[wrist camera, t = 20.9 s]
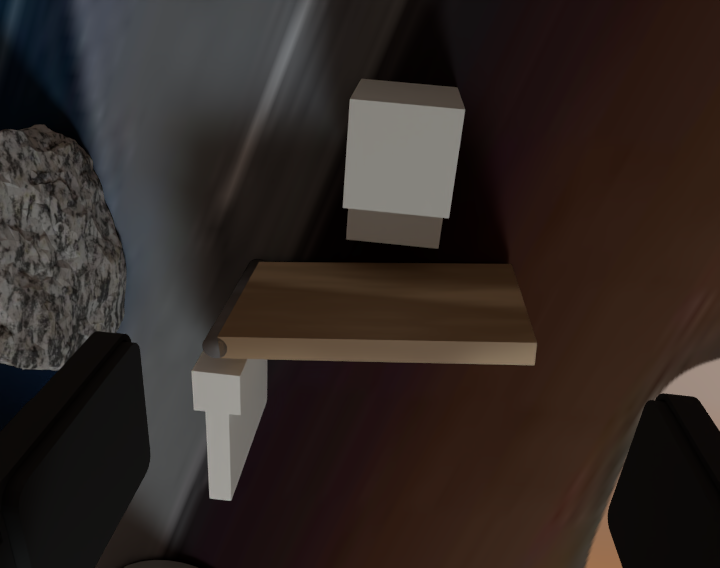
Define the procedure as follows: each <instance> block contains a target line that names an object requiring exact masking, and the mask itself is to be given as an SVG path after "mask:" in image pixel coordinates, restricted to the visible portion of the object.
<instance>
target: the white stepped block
mask: <svg viewBox="0 0 720 568" xmlns="http://www.w3.org/2000/svg"><path fill="white" fill-rule="evenodd" d="M464 114H465V108H464V105H463V102H462V99H461V96H460V94H459V91H458V88H457V87H448V86H437V85H426V84H415V83H404V82H393V81H382V80H371V79H361V80H360V82H359V83H358V85H357V87H356V89H355V91H354V92H353V94H352V96H351V98H350V105H349V120H348V135H347V150H346V165H345V180H344V196H343V208H348V219H347V233H346V239H348V240H358V241H367V242H377V243H387V244H397V245H406V246H416V247H426V248H436V249H438V248H439V241H440V234H441V227H442V220H443V218H449V215H450V208H451V202H452V195H453V188H454V181H455V175H456V168H457V161H458V155H459V148H460V141H461V134H462V128H463V121H464Z"/></svg>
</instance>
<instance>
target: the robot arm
mask: <svg viewBox="0 0 720 568" xmlns="http://www.w3.org/2000/svg"><path fill="white" fill-rule="evenodd" d="M149 462H150V445H149V435H148V425H147V415H146V406H145V396H144V386H143V376H142V366H141V356H140V349H139V346H138V344H137V343H131V339H130V337H129V336H128V335H127V334H120V333H111V332H102V331H96V332H94V333H93V334H91V336H90V337H89V338H88V339H87V340H86V341H85V342H84V343H83V344H82V345H81V346H80V348H79V349H78V350H77V351H76V352H75V353H74V354H73V355H72V356H71V357H70V359H69V360H68V361H67V362H66V363H65V364H64V365H63V366H62V367H61V368H60V370H59V371H58V372H57V373H56V374H55V375H54V376H53V377H52V378H51V379H50V380H49V382H48V383H47V384H46V385H45V386H44V387H43V388H42V389H41V390H40V391H39V393H38V394H37V395H36V396H35V397H34V398H32V399H31V400H30V401H29V402H28V403H26V405H25V406H24V407H23V408H22V409H21V410H20V411H19V412H18V413H17V414H16V415H15V417H14V418H13V419H12V420H11V421H10V422H9V423H8V424H7V425H6V426H5V427H4V429H3V430H2V431H1V432H0V568H94V567H95V566H96V564H97V562H98V560H99V558H100V557H101V555H102V553H103V551H104V549H105V547H106V546H107V544H108V542H109V540H110V538H111V536H112V535H113V533H114V531H115V529H116V527H117V525H118V524H119V522H120V520H121V518H122V516H123V515H124V513H125V511H126V509H127V507H128V505H129V504H130V502H131V500H132V498H133V496H134V494H135V493H136V491H137V489H138V487H139V485H140V483H141V482H142V480H143V478H144V476H145V474H146V472H147V470H148V467H149ZM608 525H609V529H610V532H611V535H612V538H613V541H614V544H615V547H616V550H617V553H618V555H619V558H620V561H621V563H622V567H623V568H720V431H719V430H718V428H717V427H716V425H715V424H714V422H713V421H712V419H711V418H710V416H709V415H708V413H707V412H706V410H705V409H704V407H703V406H702V404H701V403H700V401H699V400H698V399H697V398H695V397H690V396H682V395H673V394H664V393H663V394H659V396H658V397H657V398H656V400H655V401H654V400H650V401H648V402H647V403H646V405H645V407H644V409H643V412H642V415H641V418H640V421H639V424H638V426H637V429H636V432H635V435H634V438H633V441H632V443H631V446H630V449H629V452H628V455H627V458H626V460H625V463H624V466H623V469H622V472H621V475H620V477H619V480H618V483H617V486H616V489H615V492H614V495H613V497H612V500H611V503H610V506H609V510H608ZM123 568H198V567H196V566H192V565H189V564H185V563H182V562H175V561H169V560H149V561H141V562H137V563H134V564H130V565H127V566H125V567H123Z"/></svg>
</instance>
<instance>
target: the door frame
mask: <svg viewBox="0 0 720 568" xmlns="http://www.w3.org/2000/svg"><path fill="white" fill-rule="evenodd" d="M192 386H193V403H194V410H198V411H206V432H207V453H208V474H209V496H210V498H211V499H219V500H228V501H231V500H232V497H233V494H234V491H235V489H236V486H237V483H238V480H239V477H240V475H241V472H242V469H243V466H244V463H245V461H246V458H247V455H248V452H249V449H250V447H251V444H252V441H253V438H254V435H255V433H256V430H257V427H258V424H259V421H260V419H261V416H262V413H263V410H264V407H265V404H266V402H267V359H230V358H212V357H210V356H208V355H207V354H206V353H205V352H204V350H203V352H202V354H201V355H200V357H199V359H198V361H197V362H196V364H195V366H194V368H193V369H192Z"/></svg>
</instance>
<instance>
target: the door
mask: <svg viewBox="0 0 720 568" xmlns="http://www.w3.org/2000/svg"><path fill="white" fill-rule="evenodd" d="M202 346H203V350H204V352H205V353H206V354H207V355H208V356H210V357H212V358H230V359H276V360H322V361H367V362H413V363H458V364H504V365H535V356H536V347H537V341H536V338H535V335H534V332H533V329H532V326H531V323H530V320H529V317H528V314H527V311H526V307H525V304H524V301H523V298H522V295H521V292H520V289H519V286H518V283H517V280H516V277H515V274H514V270H513V267H512V264H462V263H334V262H264V261H262V260H260V259H255V260H252V261H251V262H250V263H249V265H248V267H247V269H246V270H245V272H244V274H243V275H242V277H241V279H240V280H239V282H238V284H237V286H236V287H235V289H234V291H233V292H232V294H231V296H230V297H229V299H228V301H227V303H226V304H225V306H224V308H223V309H222V311H221V313H220V314H219V316H218V318H217V320H216V321H215V323H214V325H213V326H212V328H211V330H210V332H209V333H208V335H207V337H206V338H205V340H204V342H203V345H202Z"/></svg>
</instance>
